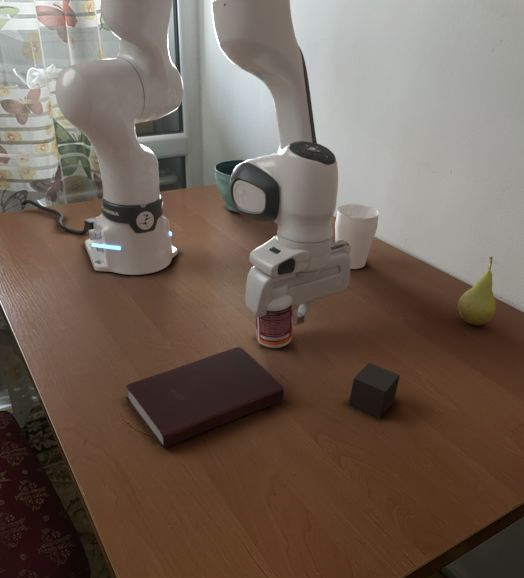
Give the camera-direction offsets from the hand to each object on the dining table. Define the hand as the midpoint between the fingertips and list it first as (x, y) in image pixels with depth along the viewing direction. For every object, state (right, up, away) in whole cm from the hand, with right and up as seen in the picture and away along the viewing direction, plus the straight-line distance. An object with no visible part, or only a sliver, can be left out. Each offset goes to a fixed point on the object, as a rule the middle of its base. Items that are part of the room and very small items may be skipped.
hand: (297, 323), depth 96 cm
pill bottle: (-4, -3, -2) cm, 5 cm away
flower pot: (-11, +34, +53) cm, 64 cm away
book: (-14, -12, -16) cm, 25 cm away
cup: (+14, +15, +27) cm, 33 cm away
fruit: (+34, +1, +8) cm, 34 cm away
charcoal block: (+10, -13, -15) cm, 22 cm away
